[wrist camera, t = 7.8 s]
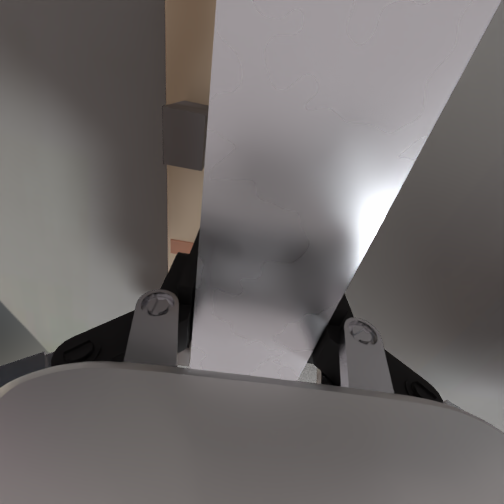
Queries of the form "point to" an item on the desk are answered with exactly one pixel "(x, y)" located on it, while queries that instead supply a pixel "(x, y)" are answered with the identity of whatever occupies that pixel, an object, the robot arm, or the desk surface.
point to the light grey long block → (310, 159)
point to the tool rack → (186, 120)
